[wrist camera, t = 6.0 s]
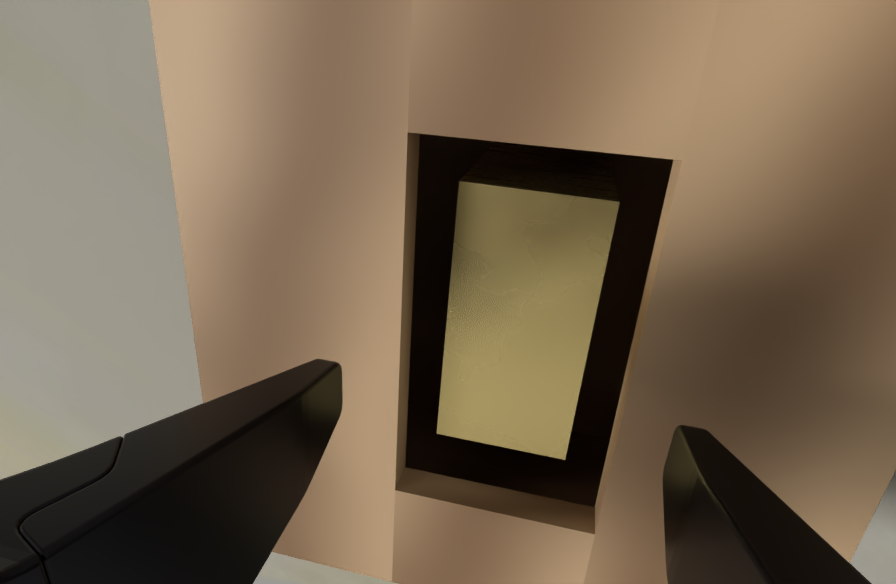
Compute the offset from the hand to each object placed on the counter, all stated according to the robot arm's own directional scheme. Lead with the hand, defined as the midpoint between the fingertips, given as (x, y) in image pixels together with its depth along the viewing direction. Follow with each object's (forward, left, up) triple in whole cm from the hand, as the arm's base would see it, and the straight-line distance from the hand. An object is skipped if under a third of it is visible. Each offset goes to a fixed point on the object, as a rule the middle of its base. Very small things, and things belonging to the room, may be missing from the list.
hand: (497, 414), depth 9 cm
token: (0, 0, -8) cm, 9 cm away
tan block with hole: (0, 0, -9) cm, 9 cm away
